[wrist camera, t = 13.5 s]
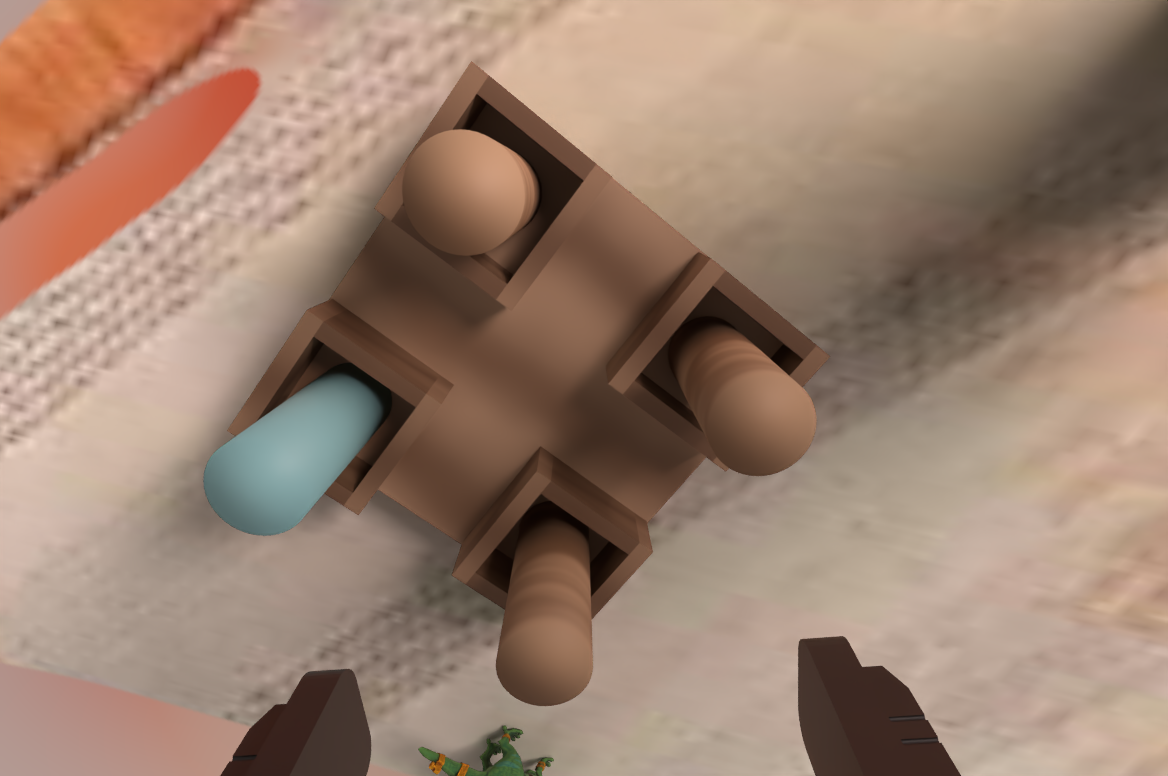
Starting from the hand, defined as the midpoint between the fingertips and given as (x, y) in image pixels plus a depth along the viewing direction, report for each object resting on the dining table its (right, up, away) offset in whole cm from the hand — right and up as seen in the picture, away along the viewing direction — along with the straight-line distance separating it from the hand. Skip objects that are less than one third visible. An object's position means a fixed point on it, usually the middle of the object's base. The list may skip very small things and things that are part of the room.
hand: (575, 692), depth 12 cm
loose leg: (-11, +5, +20) cm, 23 cm away
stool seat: (-2, +7, +23) cm, 24 cm away
